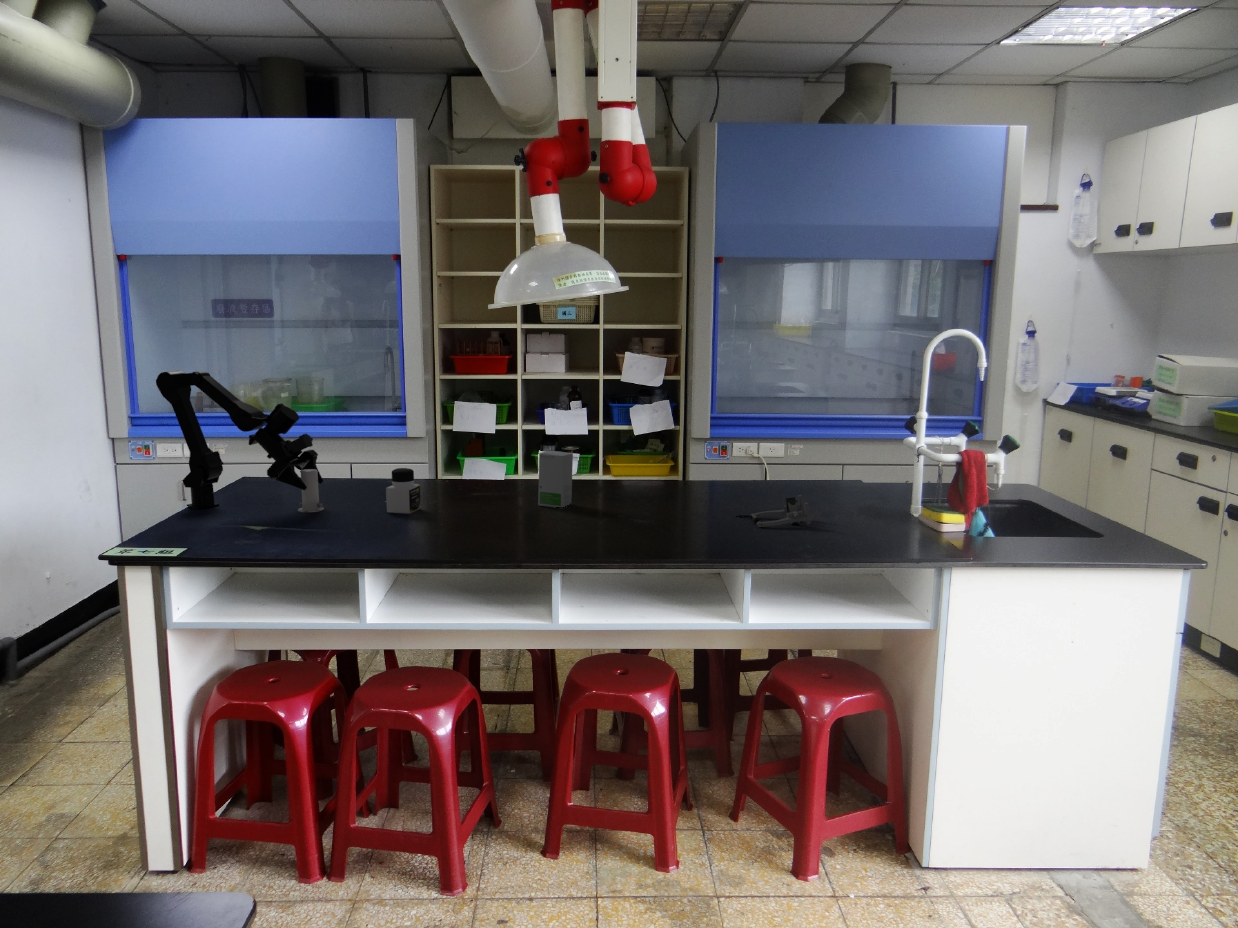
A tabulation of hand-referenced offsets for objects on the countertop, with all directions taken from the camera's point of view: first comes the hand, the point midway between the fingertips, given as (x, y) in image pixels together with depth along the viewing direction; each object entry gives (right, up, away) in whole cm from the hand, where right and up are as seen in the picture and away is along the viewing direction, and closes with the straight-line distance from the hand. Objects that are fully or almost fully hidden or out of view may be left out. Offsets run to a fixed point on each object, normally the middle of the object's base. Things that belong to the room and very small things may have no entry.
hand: (314, 485), depth 243 cm
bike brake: (+127, -10, -7) cm, 127 cm away
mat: (-9, -9, -12) cm, 18 cm away
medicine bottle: (+24, -7, +3) cm, 25 cm away
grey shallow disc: (-1, -7, +1) cm, 7 cm away
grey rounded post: (-1, -7, +1) cm, 7 cm away
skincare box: (+66, -6, +12) cm, 68 cm away
